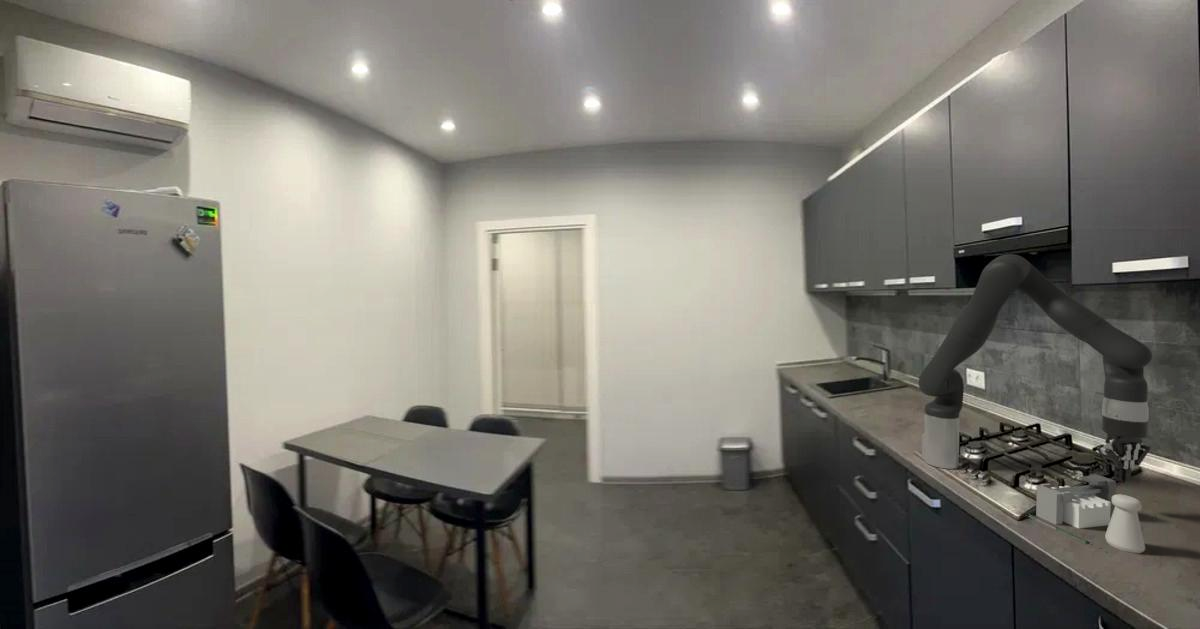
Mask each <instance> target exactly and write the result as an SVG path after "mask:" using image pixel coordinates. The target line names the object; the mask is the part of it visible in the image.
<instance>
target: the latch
mask: <svg viewBox="0 0 1200 629" xmlns="http://www.w3.org/2000/svg"><path fill="white" fill-rule="evenodd" d="M1082 481H1083V482H1087V483H1088V485H1093V486H1096V487H1098V488H1101V489H1102V493H1093V494H1091V495H1093V496H1096V497H1099V498H1101V499H1104V500H1106V501H1109V502H1111V507H1110V519H1111V517H1112V514H1113V511H1114V508H1115V505H1113V504H1112V499H1111V498H1112V496H1113V495H1116V491H1117V490H1116V488H1117V486H1116V485H1117V482H1116V481H1117V480H1115V479H1113V478H1108V477H1105V476H1103V475H1100V474H1097V473H1094V474H1088V475H1086V476H1085V475H1083V477H1082Z"/></svg>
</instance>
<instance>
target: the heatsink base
mask: <svg viewBox="0 0 1200 629" xmlns="http://www.w3.org/2000/svg"><path fill="white" fill-rule="evenodd" d="M1048 487H1050V488H1052V489H1055V488H1056V487H1054V486H1052V484H1051V483H1041V484H1040V485H1037V486H1036V506H1035V507H1036V509H1035V511H1036V512H1035V513H1036V514H1035V515H1033V514H1030V513H1029V512H1027V513H1028V514H1029V516H1028V517H1029V518H1031V519H1033V520H1035V521H1036V522H1039V523H1040V524H1043V525H1044V526H1047V527H1049V528H1052V529H1053V530H1056V531H1058V532H1060V533H1063V534H1065V535H1067V536H1068V537H1071V538H1073V539H1076V540H1077V541H1080V542H1082V543H1084V544H1085V545H1086V544H1091V542H1090V541H1088V540H1086V539H1084V538H1082V537H1080V536H1078V535H1075V534H1074V533H1071V532H1069V531H1067V530H1065V529H1062V528H1060V527H1059V526H1058V525H1063V523H1065V524H1068V525H1070V526H1072V527H1074V528H1076V529H1086V528H1094V527H1105V526H1108V525H1109V523H1110V520H1111V518H1110V507H1111V502H1109V501H1106V500H1104V499H1101V498H1099V497H1096V496H1093V495H1091V494H1083V495H1073V496H1072V492H1069V491H1068V492H1061V493H1060V492H1057V491H1055V490H1052V489H1050V488H1048ZM1065 487H1071V486H1070V485H1064V486H1062V485H1060V486H1058V488H1065ZM1013 507H1015V508H1017V506H1014V505H1013V506H1012V508H1013ZM1047 521H1048V522H1047ZM1056 525H1057V526H1056Z"/></svg>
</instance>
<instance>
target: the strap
mask: <svg viewBox="0 0 1200 629" xmlns="http://www.w3.org/2000/svg"><path fill="white" fill-rule="evenodd" d="M1064 487H1065V486H1064ZM1048 488H1050V487H1048ZM1050 489H1052V488H1050ZM1052 490H1055V491H1057V492H1060V493H1061V492H1068V491H1069V492H1072V496H1073V495H1083V494H1093V493H1102V489H1101V488H1098V487H1096V486H1093V485H1089V484H1087V485H1086V484H1085V485H1079V486H1078V485H1075V486H1070V487H1065V488H1059V487H1058V488H1057V487H1055V489H1052Z"/></svg>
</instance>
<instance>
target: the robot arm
mask: <svg viewBox="0 0 1200 629" xmlns="http://www.w3.org/2000/svg"><path fill="white" fill-rule="evenodd" d="M1016 290H1017V291H1019V292H1021V293H1023V294H1024V295H1026V297H1028V298H1029V299H1031V300H1032V301H1033V302H1034V303H1035V304H1036V305H1037V306H1038V307H1039V308H1040V309H1041V310H1042V311H1043V312H1044V313H1045V314H1046V315H1047V316H1048V317H1049V318H1050V319H1051V320H1052V321H1053V322H1054V323H1055V324H1056V325H1058V326H1059V327H1060V328H1061V329H1063V330H1064V331H1066V332H1068V333H1069V334H1070V335H1072V336H1073V337H1075V338H1077V339H1078V340H1079V341H1081V342H1084V343H1085V344H1087V345H1088V346H1089V347H1091V348H1092V349H1094V350H1095V351H1097V352H1098V353H1099V354H1101V355H1102V363H1103V364H1102V365H1103V371H1104V379H1105V380H1104V387H1103V399H1102V404H1101V430H1102V432H1104V433H1105V434H1106V437H1105V438H1106V439H1105V442H1104V443H1105V444H1104V446H1101V445H1098V446H1097V447H1096V450H1097V452H1098V453H1099V455H1100V456H1101V457H1102V458H1103V460H1104V461H1105V463H1106V464H1108V465H1111V466H1113V468H1114V474H1113V476H1114V480H1115V481H1117V482H1119V483H1124V484H1125V483H1130V482H1131V478H1132V469H1134V468H1135V466H1137V467H1138V466H1140V465H1141V464H1142V462H1143V461H1144V459H1145V457H1146V456H1147V455H1148V454H1149V452H1150V451H1151V447H1150V446H1149V445H1146V444H1144V443H1143V439H1145V438H1147V437H1148V436H1149V412H1150V411H1149V406H1148V390H1149V389H1148V383H1147V380H1146V379H1145V376H1144V372H1145V370H1144V367H1146V366H1147V365H1149V364H1150V363H1151V361H1152V360H1153V353H1152V351H1151V349H1150V348H1149V347H1148V346H1147V345H1146V344H1144V343H1143V342H1141V341H1140V340H1138V339H1136V338H1134V337H1133V336H1132V335H1129V334H1127V333H1126V332H1124V331H1122V330H1120V329H1118V328H1117V327H1115V326H1114V325H1113V324H1111V323H1110V322H1109V321H1108V320H1107V319H1104V318H1103V317H1102V316H1100V315H1099V314H1097V313H1096V312H1094V311H1093V310H1091V309H1089V308H1088V307H1086V306H1085V305H1083V304H1082V303H1081V302H1079V301H1077V300H1076V299H1074V298H1073V297H1071V296H1070V295H1069V294H1067V293H1066V292H1065V291H1063V290H1062V289H1061V288H1060V287H1059V286H1057V285H1055V284H1054V283H1053V282H1052V281H1051V280H1049V279H1048V278H1047V277H1046V276H1044V275H1043V273H1041V272H1040V270H1038V269H1037V268H1036V267H1035V266H1034V265H1033V264H1032V263H1031V262H1029V261H1028V260H1027V259H1026V258H1024V257H1023V256H1021V255H1018V254H1013V253H1012V254H1011V253H1009V254H1008V253H1007V254H1003V255H999V256H997V257H995V258H994V259H993V260H991V261H990V262H989V263H988V264H987V265H985V267H984V268H983V270H982V271H981V274H980V276H979V279H978V281H977V284H976V286H975V289H974V291H973V293H972V296H971V298H970V299H969V300H968V302H967V303H966V305H964V307H963V308H962V309H961V311H960V312H959V314H958V315H957V317H956V318H955V320H954V322H953V324H952V325H951V327H950V328H949V330H948V332H947V334H946V336H945V338H944V340H943V341H942V343H941V344H940V346H939V347H938V349H937V351H936V353H935V354H934V355H933V357H932V358H931V360H930V361H929V362H928V364H927V365H926V366H925V367H924V369H923V370H922V371H921V373H920V375H919V378H918V387H919V390H920V391H921V392H922V393H923V394H924V395H926V396H930V397H935V398H934V399H933V400H932V401H930V402H928V403H927V404H925V405H924V432H922V434H921V459H922V460H924V462H925V463H927V464H928V465H930V466H933V467H935V468H940V469H948V470H950V469H951V470H952V469H958V468H959V467H960V466H959V465H960V464H959V463H960V458H959V457H960V456H959V455H960V412H962V409H963V402H964V390H965V388H964V387H965V386H964V385H965V384H964V380H963V377H962V375H961V373H960V372H959V371H958V370H956V369H955V368H957V367H958V366H959V365H960V364H962V363H963V362H964V361H965V360H967V359H969V358H970V357H972V356H973V355H975V354H976V353H977V352H978V351H979V350H980V349H981V348H982V347H983V346H984V345H985V343H986V341H988V339H989V337H990V336H991V334H992V332H993V329H994V328H995V326H996V323H997V320H998V316H999V314H1000V311H1001V309H1002V307H1003V306H1004V305H1005V303H1006V302H1007V301H1008V300H1009V298H1010V297H1011V296H1012V295H1013V293H1014V292H1016Z"/></svg>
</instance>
